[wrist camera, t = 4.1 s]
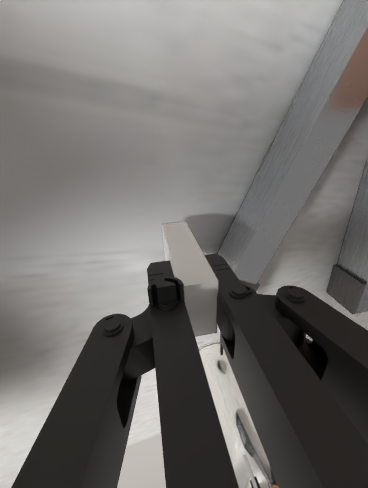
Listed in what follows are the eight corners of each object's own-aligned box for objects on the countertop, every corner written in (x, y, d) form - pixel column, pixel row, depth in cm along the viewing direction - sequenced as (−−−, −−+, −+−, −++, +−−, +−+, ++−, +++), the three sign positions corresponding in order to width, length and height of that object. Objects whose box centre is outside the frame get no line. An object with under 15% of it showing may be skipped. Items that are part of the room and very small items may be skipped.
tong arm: (197, 286, 19) (207, 312, 16) (379, -84, 11) (455, -150, 9) (225, 292, 20) (239, 318, 17) (411, -48, 12) (489, -97, 9)
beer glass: (168, 383, 24) (213, 706, 10) (198, 333, 21) (304, 664, 8) (226, 390, 26) (321, 659, 13) (258, 345, 24) (416, 617, 11)
